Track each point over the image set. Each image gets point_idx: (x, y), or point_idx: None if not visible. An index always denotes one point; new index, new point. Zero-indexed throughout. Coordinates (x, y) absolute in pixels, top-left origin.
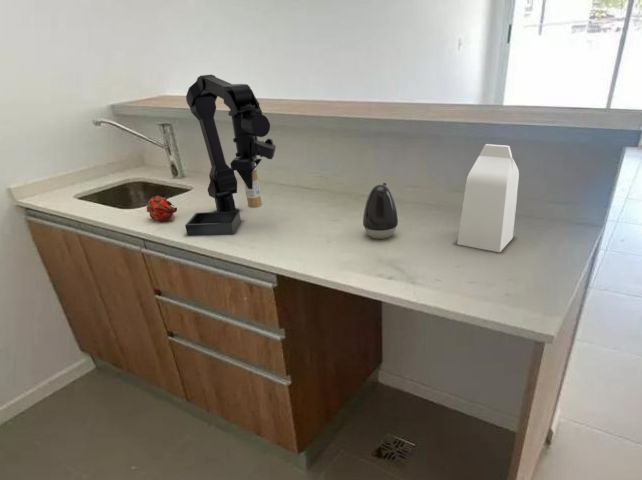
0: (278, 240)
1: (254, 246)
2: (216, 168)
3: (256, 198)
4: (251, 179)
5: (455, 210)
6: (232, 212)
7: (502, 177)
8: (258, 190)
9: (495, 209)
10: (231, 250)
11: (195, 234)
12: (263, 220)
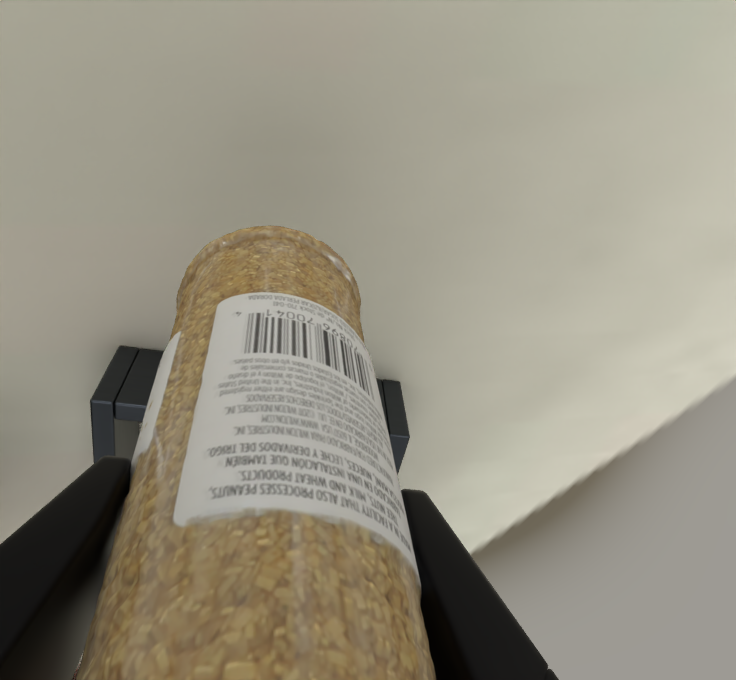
0: (710, 24)
1: (714, 237)
2: None
3: (360, 338)
4: (540, 658)
5: None
6: (116, 444)
7: None
8: (334, 365)
9: None
10: (688, 375)
11: None
12: (115, 154)
